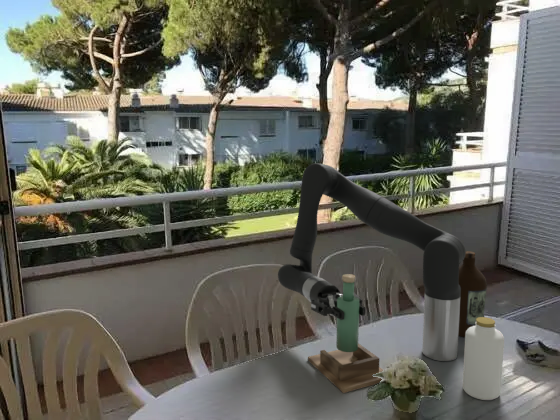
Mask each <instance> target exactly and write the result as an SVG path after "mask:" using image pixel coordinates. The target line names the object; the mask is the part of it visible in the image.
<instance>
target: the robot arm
mask: <svg viewBox="0 0 560 420" xmlns="http://www.w3.org/2000/svg"><path fill="white" fill-rule="evenodd" d="M300 187H301V188H300V197H299V198H300V199H299V206H298V207H299V208H298V213H297V214H298V215H297V219H296V220H297V221H296V226H295V229H294V233H293V237H292V241H291V245H290V249H289V254H290V256H291V257H292V258H295V259H297V260H299V265H298V264H290V263H287V264H283V265H282V266H281V267H280V268H279V269H278V272H277V279H278V282H279V284H281V286H282V287H284V288H285V289H287V290H291V291H293V292H296V293H299V294H300V295H302V296H303V297H304V298H306V299H307V301H308V302H310V310H311V311H313V312H315V313H317V314H318V315H319V314H320V315H321V316H323V317H325V316H326V317H327V316H328V315H330V316H332V317H335V318H336V319H337V318H339V319H340V320H344V311H342V310H341V309H339V308H338V307H337V298H338V297H340V296H343V293H342V292H341V291H340V289H339V288H338V287H337V285H335V284H333V283H331V282H329V281H327V280H326V279H324V278H322V277H319V276H318V275H316V274H315V273H313V265H312V264H313V253H314V250H315V249H314V248H315V245H316V240H317V236H318V211H319V207H320V203H321V199H322V197H323V195H324V196H326V197H329V198H331V199H333V200H334V201H336V202H338V203H340V204H341V205H344V206H345V207H346V208H348V209H349V211H350V212H351V213H352V214H353V215H354V216H355V217H356V218H357V219H358V220H360V221H361V222H362V223H364V224H365V225H366V226H369V227H370V228H371V229H374V230H375V231H376V232H379V233H381V234H383V235H385V236H389V237H390V238H395V239H398V240H402V241H405V242H407V243H409V244H412V245H414V246H415V247H417V248H419V249H420V250H422V251H423V257H422V282H423V283H422V284H423V287H424V302H423V305H424V306H423V325H422V326H423V327H422V349H421V351H422V354H423V355H424V356H425V357H426V358H429V359H430V360H435V361H439V362H451V361H454V360H456V359H457V358H458V348H459V336H458V333H459V315H460V295H461V287H460V285H459V282H458V280H459V267H460V264H461V263H463V260H464V258H465V254H466V247H465V245H464V242H462V241H461V239H460V238H458V237H457V236H455V235H453V234H451V233H449V232H447V231H445V230H442V229H440V228H437V227H435V226H433V225H432V224H429V223H427V222H426V221H425V222H424V221H423V220H422V219H419V218H418V217H417V216H416V215H414V214H412V213H410V212H409V211H408V210H406V209H404V208H402V207H400V206H399V205H397V204H395V203H394V202H393V201H391V200H389V199H387V198H385V197H384V196H382V195H381V194H378V193H376V192H374V191H372V190H370V189H368V188H366V187H363V186H361V185H359V184H357V183H355V182H353V181H352V180H350V179H349V178H348V177H346V176H345V175H343V174H342V173H341V172H340V171H338V170H337V169H336V168H334V167H332V166H331V165H328V164H324V163H318V162H316V163H315V162H314V163H311V164H309V165H308V166H307V167H305V169H304V171H303V174H302V177H301V185H300ZM354 297H357V298H359V316H361V317H363V316H365V315H366V307H365V306H364V305H363V299H362V298H361V297H360V296H359V295H358V294H357V293H355V292H354Z"/></svg>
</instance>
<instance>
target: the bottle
mask: <svg viewBox="0 0 560 420" xmlns="http://www.w3.org/2000/svg"><path fill="white" fill-rule="evenodd" d="M341 277H342V278H341V280H342V294H343V296H340V297H338V298H337V307H338V308H339V309H341V310H342V311H344V320H340V319H339V318H336V339H335V340H336V342H335V343H336V344H335V345H336V350H340V351H343V352H354V351H356V350H358V343H359V333H360V332H359V329H360V325H359V323H360V314H359V298H357V297H354V293H355V282H356V275H354V274H352V273H350V274H349V273H346V274H345V273H344V274H342V276H341Z"/></svg>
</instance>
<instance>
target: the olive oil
mask: <svg viewBox="0 0 560 420" xmlns="http://www.w3.org/2000/svg"><path fill="white" fill-rule="evenodd" d="M465 251H466V250H465ZM458 282H459V285H460V287H461V295H460V315H459V333H458V337H460V338H462V337H463V338H465V333H466V330H467V329H468V328H469V327H472V326H476V325H475V322H476V319H477V318H478V317H485V315H484V313H485V307H486V306H485V305H486V296H487V290H488V289H487V288H488V285H487V279H486V276H485V275H484V273H482V271H481V270H480V269H479V268H478V267H477V266H476V253H475V252H474V251H470V250H469V251H468V250H467V251H466V254H465V258H464V260H463V261H462V265H459V280H458Z"/></svg>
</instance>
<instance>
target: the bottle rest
mask: <svg viewBox="0 0 560 420" xmlns="http://www.w3.org/2000/svg"><path fill="white" fill-rule="evenodd" d="M307 361H308V362H309V363H310V364H312V366H313V367H315V368H316V369H317V370H318V371H319V372H320V373H321V374H322V375H323V376H324V377H325V378H326V379H327V380H328V381H330V382H331V383H332V384H333V385H334V386H335V387H336V388H337V389H338V390H339V391H340V392H341V393H343V394H345V393H349V392H352V391H353V392H354V391H356V390H359V389H362V388H367V387H370V386H373V385H374V386H375V385H377V383H378V384H380V383H379V382H380V381H381V380H382V379H381V378H378V377H373V376H372V375H373V374H376V373H379V372H382V371H383V370H384V369H383V368H382V367H380V357H378V356H377V355H376V354H374V353H373V352H371V351H370V350H369V349H367V348H365V347H364V346H363V345H361V344H360V343H359V342H358V350H356V351H354V352H343V351H340V350H338V349H336V350H331V351H327V350H325V349H322V350H320V352H319V353H318V354H314V355H311V356H308V357H307Z"/></svg>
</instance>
